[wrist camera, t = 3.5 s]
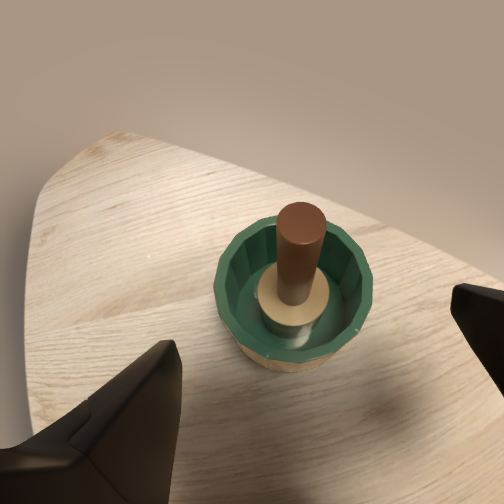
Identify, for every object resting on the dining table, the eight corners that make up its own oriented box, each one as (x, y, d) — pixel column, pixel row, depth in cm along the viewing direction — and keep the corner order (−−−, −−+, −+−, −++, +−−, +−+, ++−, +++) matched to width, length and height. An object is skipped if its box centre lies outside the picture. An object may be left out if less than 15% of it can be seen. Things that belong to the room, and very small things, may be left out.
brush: (302, 350, 19) (327, 296, 10) (248, 319, 20) (223, 240, 11) (332, 298, 21) (372, 205, 11) (280, 270, 22) (279, 164, 12)
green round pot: (313, 394, 18) (327, 392, 14) (206, 331, 21) (183, 307, 16) (369, 289, 21) (394, 254, 16) (269, 237, 24) (266, 192, 19)
